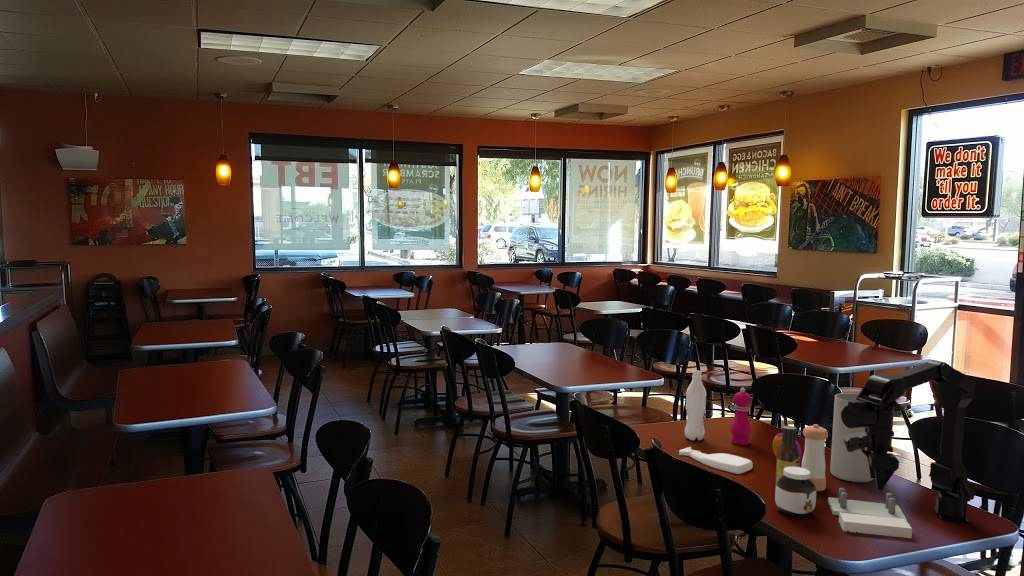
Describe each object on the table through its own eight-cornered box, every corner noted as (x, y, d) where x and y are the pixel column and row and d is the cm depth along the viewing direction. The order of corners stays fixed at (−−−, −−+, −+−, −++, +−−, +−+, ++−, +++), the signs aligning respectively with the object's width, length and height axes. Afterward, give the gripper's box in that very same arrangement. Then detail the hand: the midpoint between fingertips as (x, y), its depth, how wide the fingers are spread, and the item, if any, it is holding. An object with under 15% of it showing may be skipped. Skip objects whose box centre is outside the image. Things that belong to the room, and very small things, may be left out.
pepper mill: (725, 440, 265) (728, 386, 263) (742, 438, 267) (745, 384, 265) (737, 446, 258) (740, 390, 256) (755, 444, 260) (757, 389, 258)
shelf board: (904, 530, 191) (905, 519, 191) (911, 539, 185) (912, 528, 185) (838, 523, 194) (839, 512, 194) (843, 532, 189) (844, 521, 188)
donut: (794, 459, 245) (795, 430, 244) (802, 468, 236) (804, 438, 235) (770, 458, 246) (771, 429, 245) (777, 467, 236) (778, 437, 235)
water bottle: (707, 438, 267) (710, 370, 265) (700, 442, 261) (703, 374, 259) (688, 434, 271) (690, 368, 269) (681, 439, 265) (684, 371, 263)
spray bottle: (737, 476, 229) (672, 457, 247) (755, 468, 236) (691, 451, 254) (737, 467, 228) (672, 449, 247) (756, 460, 236) (691, 442, 254)
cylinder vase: (851, 467, 238) (856, 392, 235) (883, 480, 226) (888, 401, 223) (821, 471, 233) (825, 394, 231) (851, 485, 222) (856, 404, 219)
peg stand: (897, 509, 203) (899, 491, 203) (906, 523, 194) (907, 504, 193) (827, 501, 208) (829, 483, 208) (832, 514, 199) (834, 496, 198)
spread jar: (787, 519, 196) (790, 477, 194) (762, 503, 206) (764, 463, 205) (825, 514, 199) (828, 473, 198) (798, 499, 210) (800, 459, 209)
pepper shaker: (801, 480, 225) (805, 419, 223) (827, 485, 221) (830, 423, 219) (797, 488, 219) (800, 425, 217) (823, 493, 215) (827, 429, 213)
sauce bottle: (799, 499, 210) (803, 431, 208) (776, 497, 211) (780, 430, 209) (795, 491, 216) (799, 425, 214) (773, 489, 217) (776, 423, 215)
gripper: (840, 413, 199) (837, 468, 200) (851, 431, 181) (847, 493, 182) (886, 416, 195) (882, 473, 197) (901, 436, 178) (897, 498, 179)
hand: (876, 484), depth 189 cm, fingers open, 9 cm apart
